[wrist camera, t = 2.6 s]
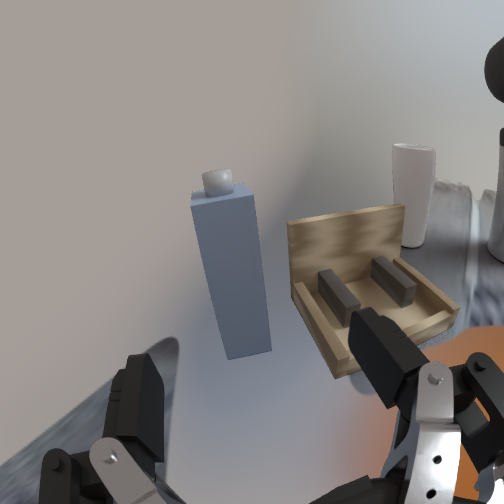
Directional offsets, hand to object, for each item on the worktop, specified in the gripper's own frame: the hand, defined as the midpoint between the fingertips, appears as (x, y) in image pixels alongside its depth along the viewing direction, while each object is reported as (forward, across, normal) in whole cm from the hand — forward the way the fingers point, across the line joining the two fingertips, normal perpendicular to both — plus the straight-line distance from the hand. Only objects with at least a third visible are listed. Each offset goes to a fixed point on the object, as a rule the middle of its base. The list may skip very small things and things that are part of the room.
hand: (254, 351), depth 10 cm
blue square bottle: (+12, 0, +10) cm, 16 cm away
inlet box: (+10, -13, +10) cm, 20 cm away
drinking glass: (+22, -28, +10) cm, 38 cm away
